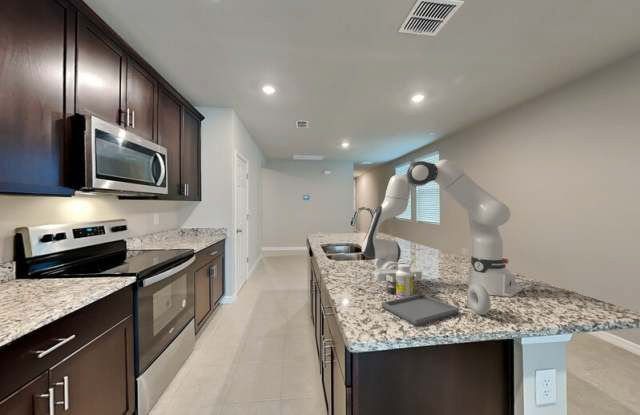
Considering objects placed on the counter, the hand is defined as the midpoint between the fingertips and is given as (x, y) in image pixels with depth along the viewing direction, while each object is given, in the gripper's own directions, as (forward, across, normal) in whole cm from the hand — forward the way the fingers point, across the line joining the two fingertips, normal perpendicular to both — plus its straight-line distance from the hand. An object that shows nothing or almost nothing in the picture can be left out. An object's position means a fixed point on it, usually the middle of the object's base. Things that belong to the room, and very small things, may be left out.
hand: (405, 279), depth 103 cm
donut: (+19, +18, +7) cm, 27 cm away
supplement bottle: (0, 0, +7) cm, 7 cm away
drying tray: (+14, -1, +7) cm, 16 cm away
